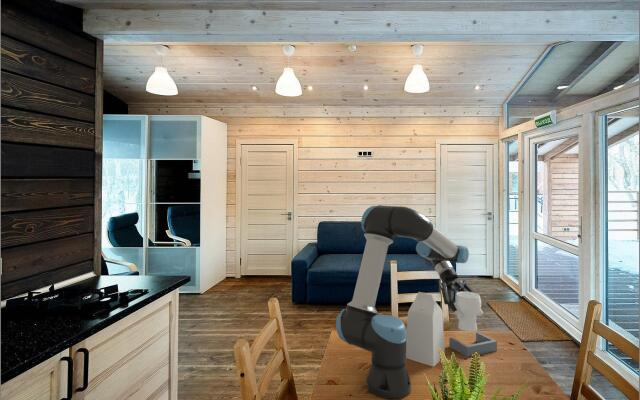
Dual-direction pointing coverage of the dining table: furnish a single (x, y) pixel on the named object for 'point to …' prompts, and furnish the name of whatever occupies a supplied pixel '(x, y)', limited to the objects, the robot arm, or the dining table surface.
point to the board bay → (474, 345)
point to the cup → (468, 310)
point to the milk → (424, 330)
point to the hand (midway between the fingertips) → (471, 316)
